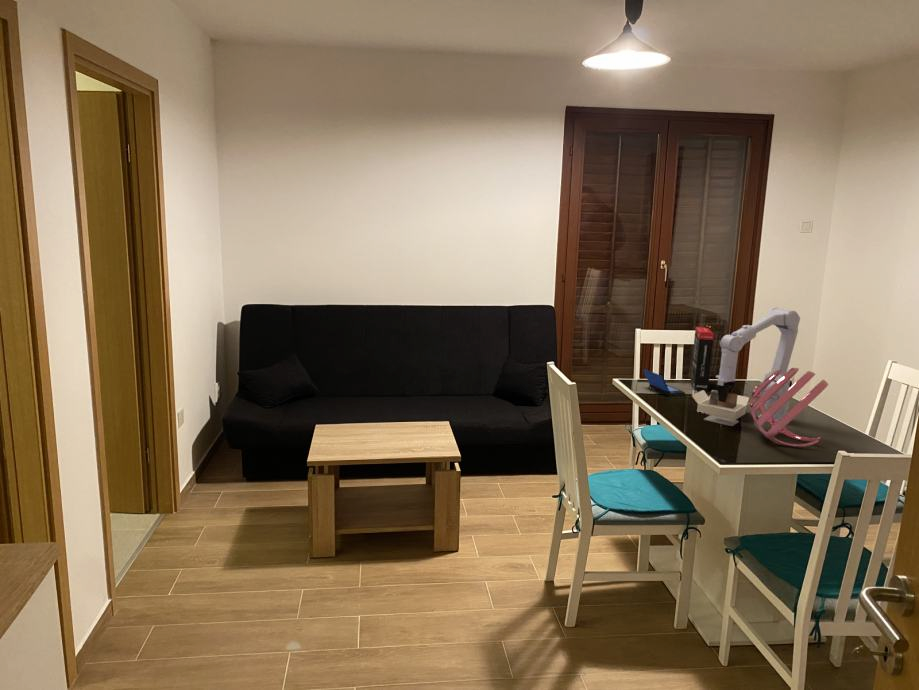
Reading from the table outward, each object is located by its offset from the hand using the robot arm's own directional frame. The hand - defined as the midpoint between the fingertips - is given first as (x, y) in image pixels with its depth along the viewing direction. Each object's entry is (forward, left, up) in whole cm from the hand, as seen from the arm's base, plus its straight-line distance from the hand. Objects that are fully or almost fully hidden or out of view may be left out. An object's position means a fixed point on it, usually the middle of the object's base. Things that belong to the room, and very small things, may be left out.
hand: (723, 400), depth 265 cm
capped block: (0, 0, -2) cm, 2 cm away
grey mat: (0, 0, -8) cm, 8 cm away
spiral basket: (-24, +7, -8) cm, 26 cm away
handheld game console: (+35, -28, -9) cm, 45 cm away
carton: (+4, -13, -8) cm, 16 cm away
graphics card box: (+27, -50, -8) cm, 57 cm away
